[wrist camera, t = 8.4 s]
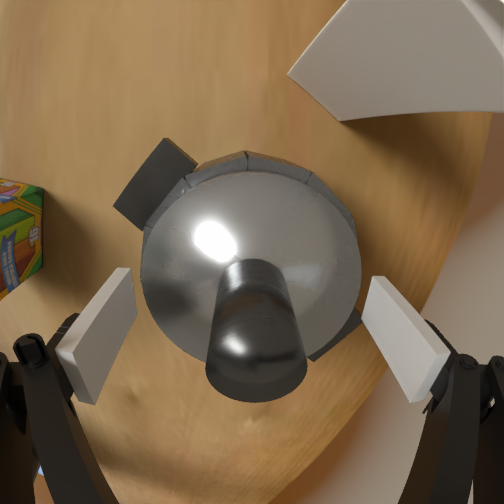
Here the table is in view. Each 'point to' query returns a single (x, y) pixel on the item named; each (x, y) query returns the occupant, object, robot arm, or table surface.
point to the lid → (251, 279)
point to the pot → (185, 178)
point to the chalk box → (19, 233)
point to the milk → (407, 58)
